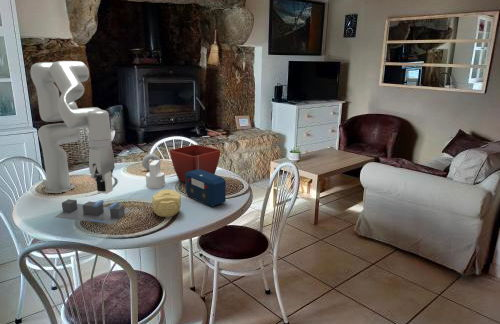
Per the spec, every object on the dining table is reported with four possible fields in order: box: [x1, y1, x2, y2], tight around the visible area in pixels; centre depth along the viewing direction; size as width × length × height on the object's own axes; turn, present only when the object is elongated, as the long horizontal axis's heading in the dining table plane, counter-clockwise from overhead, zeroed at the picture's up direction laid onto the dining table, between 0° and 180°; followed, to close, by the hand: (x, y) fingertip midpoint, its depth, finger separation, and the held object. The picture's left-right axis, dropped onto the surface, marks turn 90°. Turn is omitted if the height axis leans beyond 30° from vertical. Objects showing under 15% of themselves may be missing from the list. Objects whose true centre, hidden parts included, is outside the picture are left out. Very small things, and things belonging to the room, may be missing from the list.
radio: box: [185, 161, 227, 207], centre depth 165 cm, size 21×9×20 cm, turn 45°
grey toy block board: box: [54, 198, 132, 228], centre depth 147 cm, size 25×14×6 cm, turn 78°
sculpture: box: [151, 189, 182, 218], centre depth 150 cm, size 11×12×11 cm
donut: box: [141, 153, 161, 171], centre depth 207 cm, size 10×3×10 cm, turn 112°
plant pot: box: [169, 144, 222, 183], centre depth 191 cm, size 19×19×17 cm
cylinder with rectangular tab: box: [145, 159, 166, 189], centre depth 183 cm, size 9×9×12 cm
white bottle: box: [97, 171, 114, 195], centre depth 142 cm, size 4×4×10 cm
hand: (105, 188), depth 143 cm, fingers closed on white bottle, 4 cm apart
